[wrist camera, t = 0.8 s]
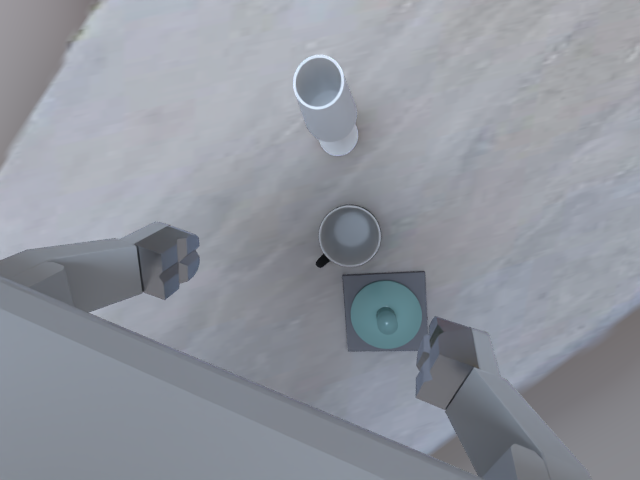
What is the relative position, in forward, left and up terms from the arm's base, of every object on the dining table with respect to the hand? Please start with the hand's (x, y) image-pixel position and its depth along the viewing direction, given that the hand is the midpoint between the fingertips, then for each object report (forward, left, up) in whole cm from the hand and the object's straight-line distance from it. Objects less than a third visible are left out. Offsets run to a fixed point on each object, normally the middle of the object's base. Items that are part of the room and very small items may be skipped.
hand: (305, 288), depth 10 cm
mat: (-17, -5, -44) cm, 47 cm away
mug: (-3, +1, -44) cm, 44 cm away
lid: (-17, -5, -43) cm, 47 cm away
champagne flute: (+14, +1, -44) cm, 46 cm away
